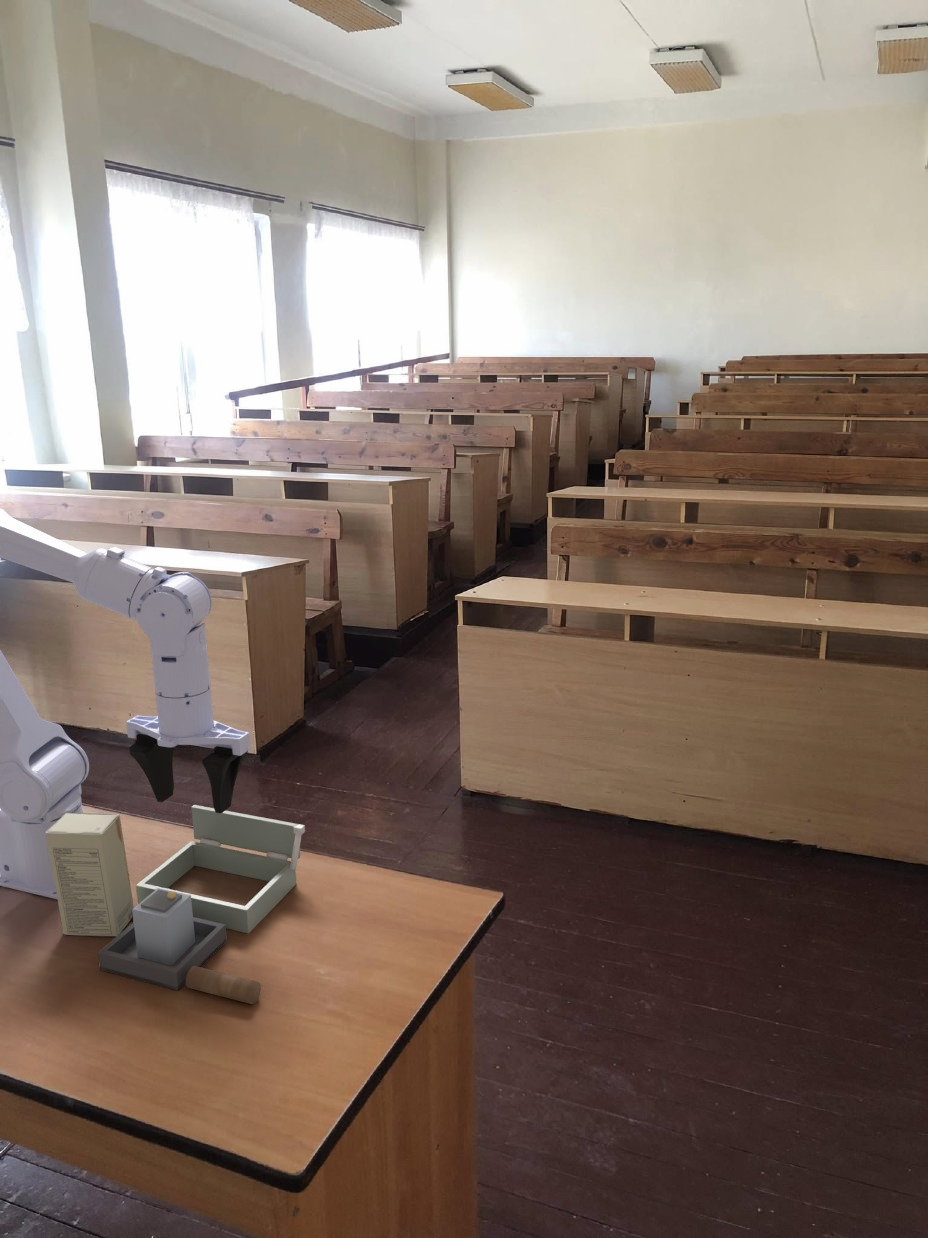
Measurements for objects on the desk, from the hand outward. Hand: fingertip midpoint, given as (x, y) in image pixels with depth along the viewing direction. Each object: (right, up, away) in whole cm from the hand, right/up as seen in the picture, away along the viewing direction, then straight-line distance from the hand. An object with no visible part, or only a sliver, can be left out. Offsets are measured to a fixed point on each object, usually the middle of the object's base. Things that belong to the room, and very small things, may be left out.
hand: (193, 803), depth 104 cm
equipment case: (+2, -11, +1) cm, 11 cm away
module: (0, -13, -9) cm, 16 cm away
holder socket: (0, -14, -9) cm, 16 cm away
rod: (+7, -15, -15) cm, 22 cm away
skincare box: (-9, -12, -4) cm, 16 cm away
